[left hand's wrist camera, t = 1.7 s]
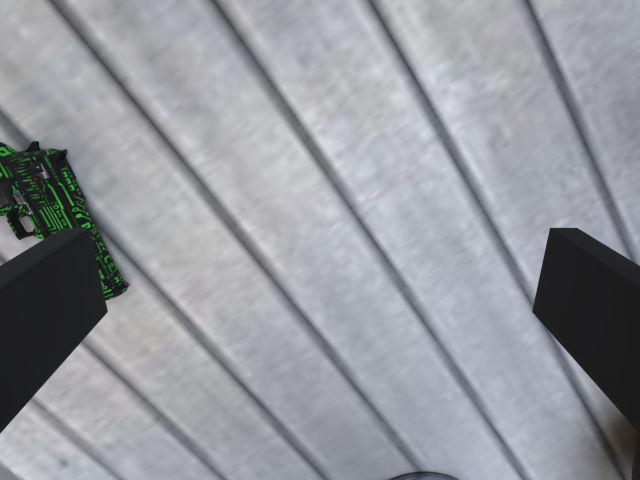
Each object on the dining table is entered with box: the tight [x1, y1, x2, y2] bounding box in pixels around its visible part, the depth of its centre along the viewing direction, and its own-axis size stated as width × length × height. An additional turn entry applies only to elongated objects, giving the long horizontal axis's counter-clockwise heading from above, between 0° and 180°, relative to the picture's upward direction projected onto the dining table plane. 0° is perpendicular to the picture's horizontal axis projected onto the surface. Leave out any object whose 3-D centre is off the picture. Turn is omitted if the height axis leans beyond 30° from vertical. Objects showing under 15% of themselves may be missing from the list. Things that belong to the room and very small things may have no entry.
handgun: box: [0, 141, 130, 301], centre depth 40 cm, size 16×3×15 cm
